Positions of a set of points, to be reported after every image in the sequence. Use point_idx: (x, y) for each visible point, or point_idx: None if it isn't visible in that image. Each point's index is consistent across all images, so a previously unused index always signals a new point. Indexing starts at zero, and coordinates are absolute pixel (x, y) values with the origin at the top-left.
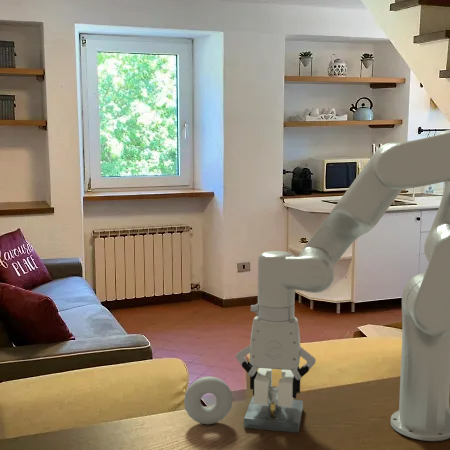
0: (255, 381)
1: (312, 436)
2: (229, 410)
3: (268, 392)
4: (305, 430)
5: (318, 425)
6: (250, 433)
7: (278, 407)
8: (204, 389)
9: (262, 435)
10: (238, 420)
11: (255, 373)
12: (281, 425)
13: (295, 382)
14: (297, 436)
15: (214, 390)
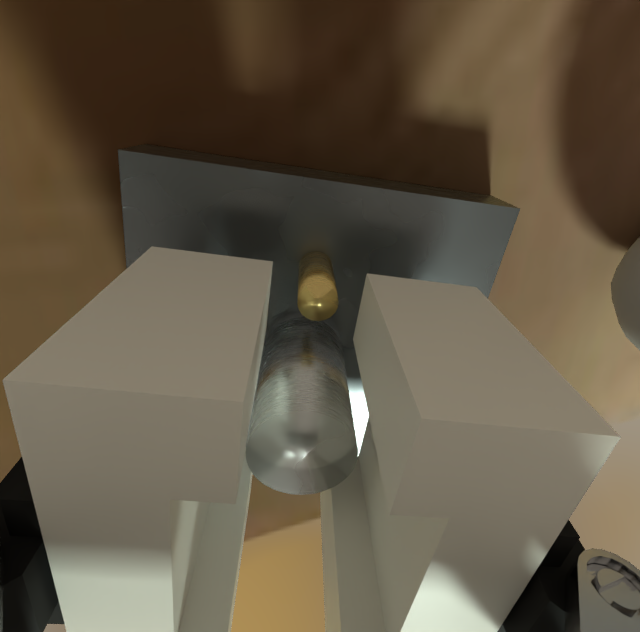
0: (594, 426)
1: (43, 97)
2: (625, 274)
3: (363, 384)
4: (106, 185)
5: (38, 257)
6: (461, 118)
7: (275, 339)
8: None
9: (384, 91)
10: (506, 287)
11: (554, 597)
12: (254, 164)
13: (26, 474)
14: (146, 90)
15: None
